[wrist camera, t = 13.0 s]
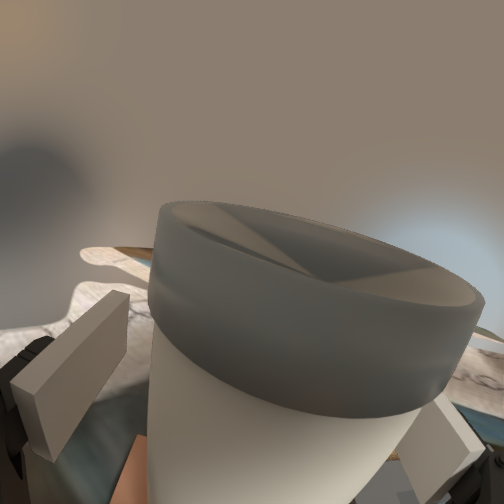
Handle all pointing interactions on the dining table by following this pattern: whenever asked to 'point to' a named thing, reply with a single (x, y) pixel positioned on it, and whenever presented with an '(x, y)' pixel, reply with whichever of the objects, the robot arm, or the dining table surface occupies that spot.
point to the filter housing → (390, 487)
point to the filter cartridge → (288, 354)
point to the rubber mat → (133, 476)
